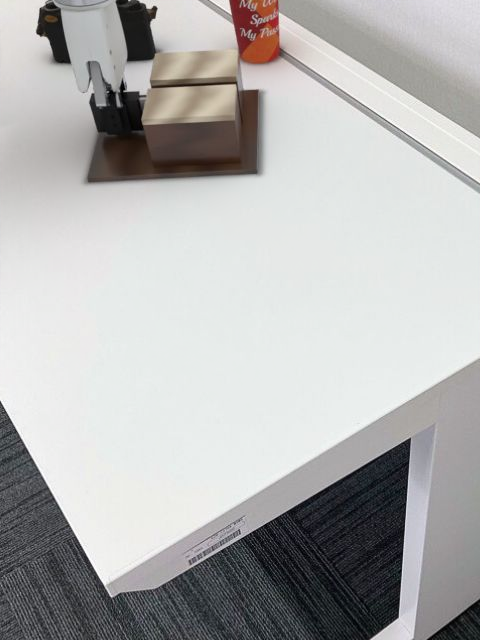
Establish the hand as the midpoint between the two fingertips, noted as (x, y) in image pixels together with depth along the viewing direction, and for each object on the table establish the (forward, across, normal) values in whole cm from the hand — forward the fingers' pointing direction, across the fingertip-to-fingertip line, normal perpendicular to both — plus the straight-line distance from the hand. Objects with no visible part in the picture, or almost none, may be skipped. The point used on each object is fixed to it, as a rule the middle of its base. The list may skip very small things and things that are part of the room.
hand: (121, 126), depth 100 cm
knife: (0, 0, +6) cm, 6 cm away
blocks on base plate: (+2, 0, +7) cm, 8 cm away
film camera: (+2, -25, -6) cm, 26 cm away
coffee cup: (+2, -21, +18) cm, 28 cm away
